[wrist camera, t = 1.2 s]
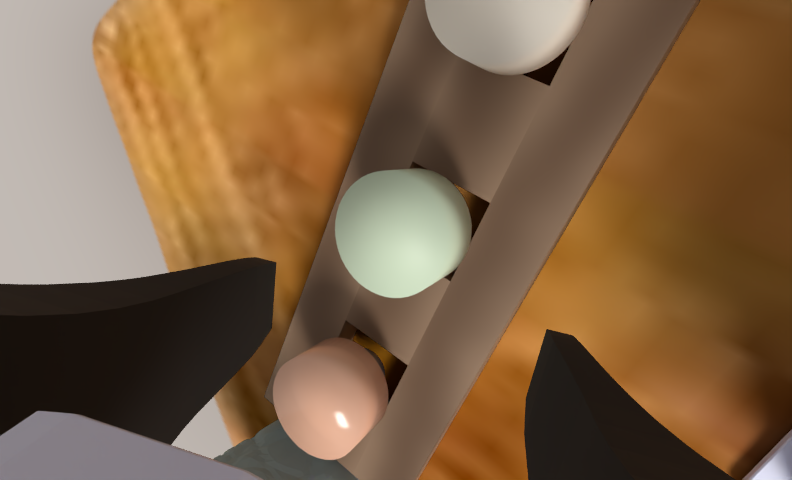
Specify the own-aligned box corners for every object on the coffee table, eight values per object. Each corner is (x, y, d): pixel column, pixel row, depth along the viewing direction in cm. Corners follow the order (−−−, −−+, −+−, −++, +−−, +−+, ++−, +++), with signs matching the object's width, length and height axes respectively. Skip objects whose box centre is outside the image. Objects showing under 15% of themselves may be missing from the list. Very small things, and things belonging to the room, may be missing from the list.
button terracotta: (420, 361, 22) (375, 403, 19) (384, 430, 24) (336, 481, 21) (345, 307, 24) (290, 336, 20) (317, 376, 26) (261, 413, 22)
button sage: (505, 198, 19) (470, 209, 15) (456, 291, 21) (415, 322, 17) (411, 149, 21) (360, 148, 17) (373, 239, 23) (320, 256, 19)
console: (764, -110, 15) (780, -143, 13) (412, 488, 26) (396, 512, 24) (498, -169, 19) (482, -201, 17) (286, 382, 30) (264, 396, 28)
